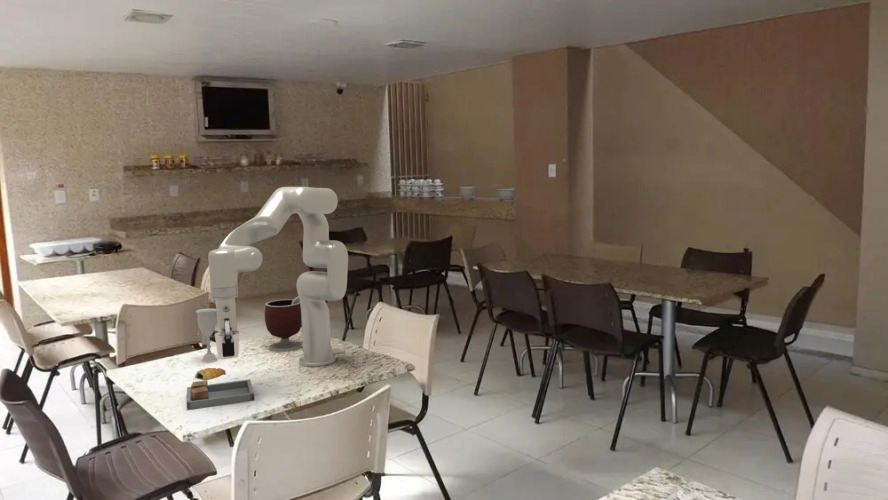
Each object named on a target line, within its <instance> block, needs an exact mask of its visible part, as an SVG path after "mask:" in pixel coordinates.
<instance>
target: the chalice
mask: <svg viewBox="0 0 888 500" xmlns="http://www.w3.org/2000/svg"><path fill="white" fill-rule="evenodd" d="M195 313H196V314H197V326H198V328H199V330H200V332H201V333H202V335H203V336H204V337H206V341H205V343H206V349H207V351H206V353H204V355H203V358H202V360H201V361H202V362H201V363H213V362H216V361H218V358H217V357H216V355H215V353H213V352H212V351H211V348H212V346H211V342H212V341H211V339H210V337H212V336H213V334H214V331H215V328H216V324H217V312H216V308H200V309H197V310H195Z"/></svg>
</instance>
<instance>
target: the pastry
mask: <svg viewBox="0 0 888 500" xmlns="http://www.w3.org/2000/svg"><path fill="white" fill-rule="evenodd" d="M224 375H227V373H226V370H224V369H223V368H221V367H219V368H216V367H206V368H203V369H200V370H198V371H196V373H195V376H194V379H200V380H202V381H209V380H213V379H217V378H220V377H221V376H224Z"/></svg>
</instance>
